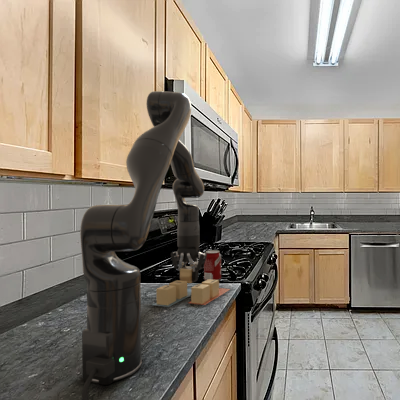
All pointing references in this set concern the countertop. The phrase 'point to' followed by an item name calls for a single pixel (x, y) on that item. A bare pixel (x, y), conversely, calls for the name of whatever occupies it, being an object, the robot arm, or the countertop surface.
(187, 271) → the small cardboard box
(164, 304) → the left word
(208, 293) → the wooden blocks on tray
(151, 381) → the countertop surface
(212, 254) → the soda can
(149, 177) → the robot arm
